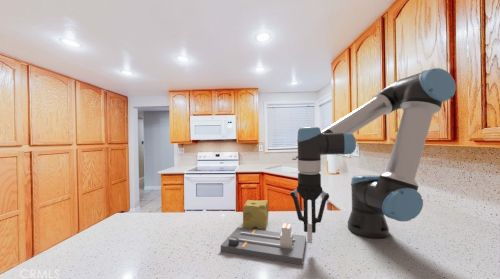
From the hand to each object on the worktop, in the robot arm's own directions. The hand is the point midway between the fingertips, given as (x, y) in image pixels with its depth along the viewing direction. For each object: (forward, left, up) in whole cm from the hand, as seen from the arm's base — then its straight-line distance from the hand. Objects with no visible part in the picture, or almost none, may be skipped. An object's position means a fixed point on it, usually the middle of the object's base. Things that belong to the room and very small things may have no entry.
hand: (309, 241), depth 72 cm
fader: (+8, 0, -2) cm, 8 cm away
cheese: (+25, -18, -4) cm, 31 cm away
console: (+16, 0, -4) cm, 16 cm away
